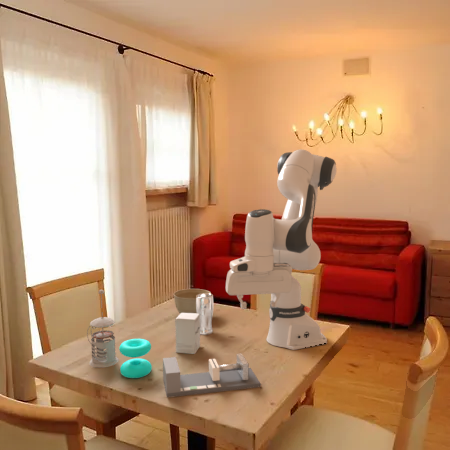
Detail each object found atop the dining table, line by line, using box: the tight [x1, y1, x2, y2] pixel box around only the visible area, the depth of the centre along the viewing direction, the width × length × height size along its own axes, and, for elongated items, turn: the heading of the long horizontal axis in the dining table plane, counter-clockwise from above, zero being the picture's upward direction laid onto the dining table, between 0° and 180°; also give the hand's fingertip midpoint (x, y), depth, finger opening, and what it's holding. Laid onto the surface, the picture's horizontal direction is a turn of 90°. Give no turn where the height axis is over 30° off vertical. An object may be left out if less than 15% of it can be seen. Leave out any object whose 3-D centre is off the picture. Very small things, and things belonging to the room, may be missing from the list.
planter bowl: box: [173, 288, 212, 314], centre depth 205 cm, size 16×16×11 cm
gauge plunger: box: [218, 352, 250, 380], centre depth 145 cm, size 9×8×5 cm
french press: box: [86, 289, 119, 368], centre depth 159 cm, size 10×12×25 cm
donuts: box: [118, 338, 153, 379], centre depth 151 cm, size 10×10×10 cm
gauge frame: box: [162, 356, 261, 398], centre depth 143 cm, size 28×11×7 cm, turn 103°
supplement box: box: [175, 313, 201, 355], centre depth 169 cm, size 7×7×13 cm
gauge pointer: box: [208, 358, 220, 381], centre depth 143 cm, size 2×6×4 cm, turn 13°
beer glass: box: [196, 293, 214, 336], centre depth 187 cm, size 7×7×15 cm
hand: (258, 307), depth 145 cm, fingers open, 8 cm apart
